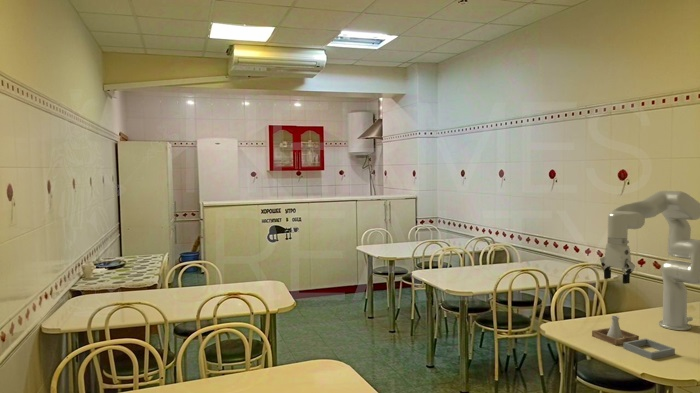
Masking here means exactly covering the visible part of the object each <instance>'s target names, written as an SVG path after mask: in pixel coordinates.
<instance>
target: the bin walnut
mask: <svg viewBox="0 0 700 393" xmlns="http://www.w3.org/2000/svg"><path fill="white" fill-rule="evenodd" d="M609 329H610V327H607V328H601V329H599V328H598V329H594V330H592V331H591V336H592V337H593V338H596V339H598V340H601V341H603V342H606V343H609V344H611V345H614V346H623V343H624V342H630V341H635V340H640V336H639V335H637V334H635V333H633V332H629V331H626V330H623V329H621V328H620V330H621V332H622V335H623V338H618V339H615V338H612V337H610V336H607V334H608V331H609Z"/></svg>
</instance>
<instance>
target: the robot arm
mask: <svg viewBox="0 0 700 393" xmlns="http://www.w3.org/2000/svg"><path fill="white" fill-rule="evenodd" d="M660 214H662V216H663V217H664V218H665V220H666V222H667V224H668V228H669V229H668V239H667V250H666V251H667V254H668V256H670V257H672V258H678V259H684V260H689V261H691V262H688V261H683V260H682V261H681V260H675V259H669V260H665V261H663V262H662V264H661V266H660V272H661V276H662V281H663V282H662V284H663V287H662V289H663V290H662V291H663V292H662V293H663V294H662V319H661V320H659V321H658V326H660V327H662V328H665V329H668V330H673V331H689V330H690V329H691V327H692V326H691V325H690V324H689V322H692V321H693V320H694V318H693V317H692V316H688V289H687V287H686V285H685V283H686V284H692V285H700V239H694V238H691V233H692V232H691V231H692V227H691V225H690V223H689V221H697V220H699V219H700V202H699V201H698V200H697V199H696V198H694V197H693V196H691V195H690V194H688V193H686V192H684V191H679V190H660V191H657V192H655V193H654V194H652V195H649V197H646V198H645V199H643V200H639V201H635V202H631V203H626V204H624V205H620V206H618V207H616V208H614V209H613V210H611V212H610V213H609V214H608V215H607V243H606V246H605V251H604V256H603V257H600V258H599V261H600V263H601V264H600V265H601V266H602V269H603V270H604V271H603V272H604V273H603V279H605V280H609V279H611V278H612V270H611V268H613V269H619V270H621V271H622V272H623V274H622V284H623V285H625V284H626V285H627V284H630V282H631V281H630V280H631V279H630V278H631V277H630V276H631V275H632V273H633V272H634V270H635V268H636V264H635V263H633V262H632V257H631V256H632V255H631V250H630V249H631V248H630V245H628V244H629V243H630V242H629V240H628V235H629V234H628V230H638V229H642V228H643V226H644V225H645V224H646V219H651V218H655V217H657V216H658V215H660Z"/></svg>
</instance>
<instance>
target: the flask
mask: <svg viewBox="0 0 700 393" xmlns="http://www.w3.org/2000/svg"><path fill="white" fill-rule="evenodd" d="M619 320H620V317H619V316H618V315H611V324H610V327H609V328H610V329H609V331H608V334H607V336H610V337H612V338H615V339H618V338H624V337H623V335H622V332H621V330H622V329H621V327H620V322H619ZM620 329H621V330H620Z"/></svg>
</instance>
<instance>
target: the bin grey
mask: <svg viewBox="0 0 700 393" xmlns="http://www.w3.org/2000/svg"><path fill="white" fill-rule="evenodd" d="M622 346H623V348H622V349H623V350H626V351H629V352H631V353H634V354H637V355H639V356H641V357H644V358H647V359H649V360H655V359H660V358H666V357H670V356H674V355H675V354H676V348H674V347H671V346H668V345H665V344H663V343H660V342H657V341H656V340H655V341H654V340H652V339H649V338H641V339H640V338H639V340H635V341H630V342H624V343H623V345H622ZM644 346H647V347H650V348H653V349H655V351H649V350H646V349H643V348H642V347H644ZM640 347H641V348H640Z"/></svg>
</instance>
